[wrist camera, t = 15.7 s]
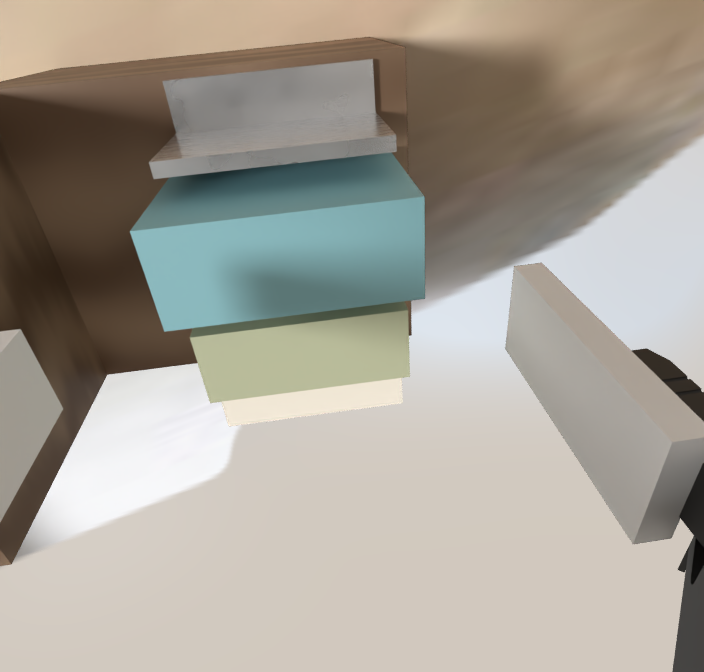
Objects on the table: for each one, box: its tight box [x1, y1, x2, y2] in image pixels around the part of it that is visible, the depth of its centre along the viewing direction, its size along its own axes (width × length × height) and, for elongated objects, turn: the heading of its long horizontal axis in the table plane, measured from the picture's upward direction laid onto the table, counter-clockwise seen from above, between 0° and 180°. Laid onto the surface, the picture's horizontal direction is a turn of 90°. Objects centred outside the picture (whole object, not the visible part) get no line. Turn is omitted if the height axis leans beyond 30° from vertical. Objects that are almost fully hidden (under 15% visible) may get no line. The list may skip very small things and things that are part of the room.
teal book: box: [130, 152, 425, 332], centre depth 21 cm, size 4×10×8 cm, turn 95°
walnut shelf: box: [0, 37, 411, 566], centre depth 25 cm, size 15×20×24 cm
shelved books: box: [190, 301, 410, 426], centre depth 25 cm, size 6×9×7 cm, turn 95°
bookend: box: [149, 59, 397, 179], centre depth 20 cm, size 3×9×6 cm, turn 95°
